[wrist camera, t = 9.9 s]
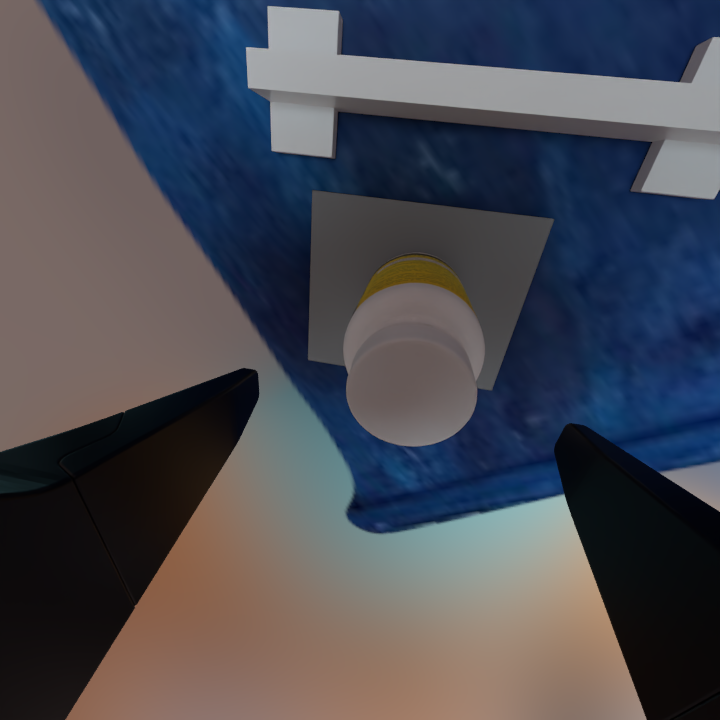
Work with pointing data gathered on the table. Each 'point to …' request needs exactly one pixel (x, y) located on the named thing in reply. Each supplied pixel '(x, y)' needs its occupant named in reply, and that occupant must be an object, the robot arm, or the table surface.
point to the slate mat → (425, 235)
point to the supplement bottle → (413, 352)
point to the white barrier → (487, 100)
